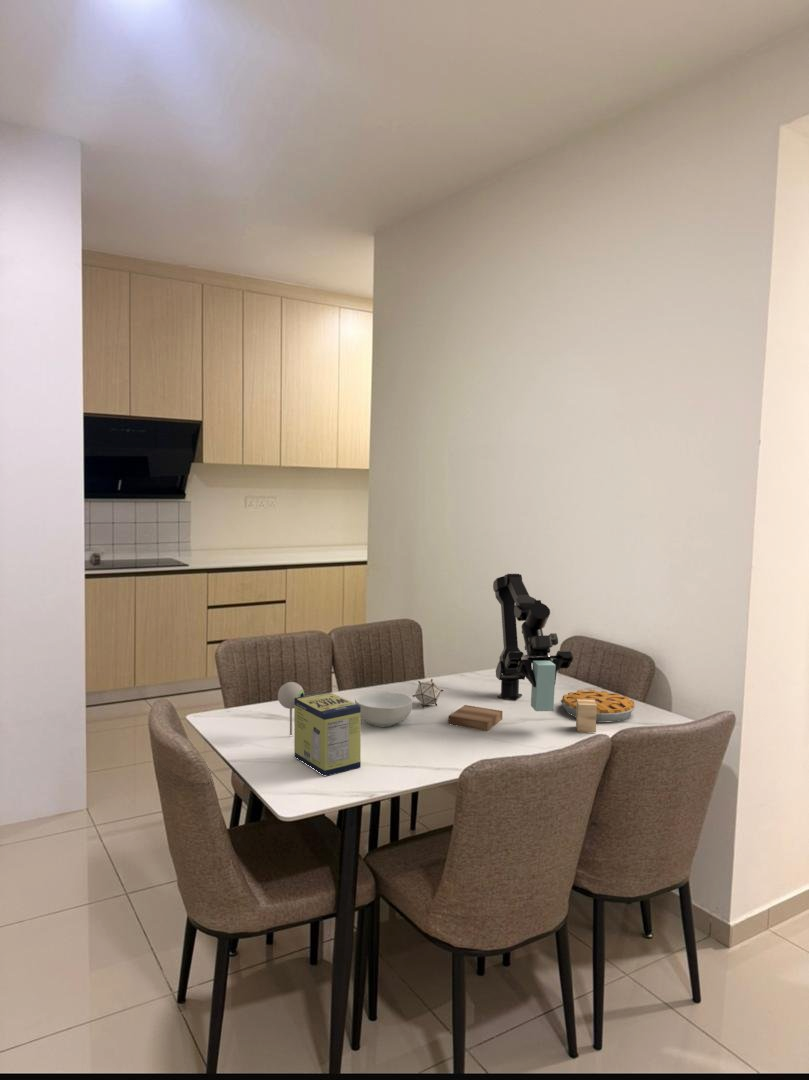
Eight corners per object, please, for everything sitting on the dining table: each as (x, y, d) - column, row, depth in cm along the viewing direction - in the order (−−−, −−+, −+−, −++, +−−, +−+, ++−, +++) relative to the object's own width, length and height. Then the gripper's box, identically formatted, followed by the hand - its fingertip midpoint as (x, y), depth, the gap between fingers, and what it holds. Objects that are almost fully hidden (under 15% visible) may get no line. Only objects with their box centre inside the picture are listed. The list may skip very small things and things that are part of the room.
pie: (602, 729, 216) (603, 712, 215) (546, 710, 233) (546, 694, 233) (649, 716, 229) (650, 699, 228) (592, 698, 246) (593, 683, 246)
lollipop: (296, 742, 201) (296, 687, 200) (272, 738, 204) (272, 684, 203) (308, 734, 208) (308, 680, 207) (285, 730, 211) (285, 677, 209)
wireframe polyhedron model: (421, 718, 235) (402, 693, 234) (432, 702, 242) (414, 677, 241) (442, 709, 230) (422, 683, 229) (452, 693, 236) (433, 668, 236)
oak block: (576, 726, 217) (576, 699, 217) (593, 727, 217) (594, 700, 216) (577, 732, 212) (578, 704, 212) (595, 733, 212) (596, 705, 211)
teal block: (530, 705, 214) (533, 660, 213) (547, 705, 215) (550, 660, 213) (535, 711, 209) (538, 665, 208) (553, 711, 210) (555, 665, 208)
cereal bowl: (405, 734, 209) (406, 709, 208) (347, 729, 212) (347, 705, 212) (417, 715, 226) (417, 692, 225) (363, 711, 229) (363, 688, 228)
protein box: (328, 749, 197) (328, 690, 196) (361, 767, 184) (362, 705, 183) (293, 757, 191) (293, 697, 189) (324, 777, 178) (324, 713, 177)
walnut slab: (464, 714, 229) (465, 704, 228) (502, 720, 223) (502, 710, 223) (448, 725, 218) (448, 715, 218) (487, 732, 213) (487, 722, 212)
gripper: (508, 623, 213) (517, 672, 203) (572, 622, 215) (585, 670, 205) (500, 644, 221) (509, 692, 211) (562, 643, 223) (574, 691, 213)
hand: (544, 686), depth 210 cm, fingers closed on teal block, 5 cm apart
